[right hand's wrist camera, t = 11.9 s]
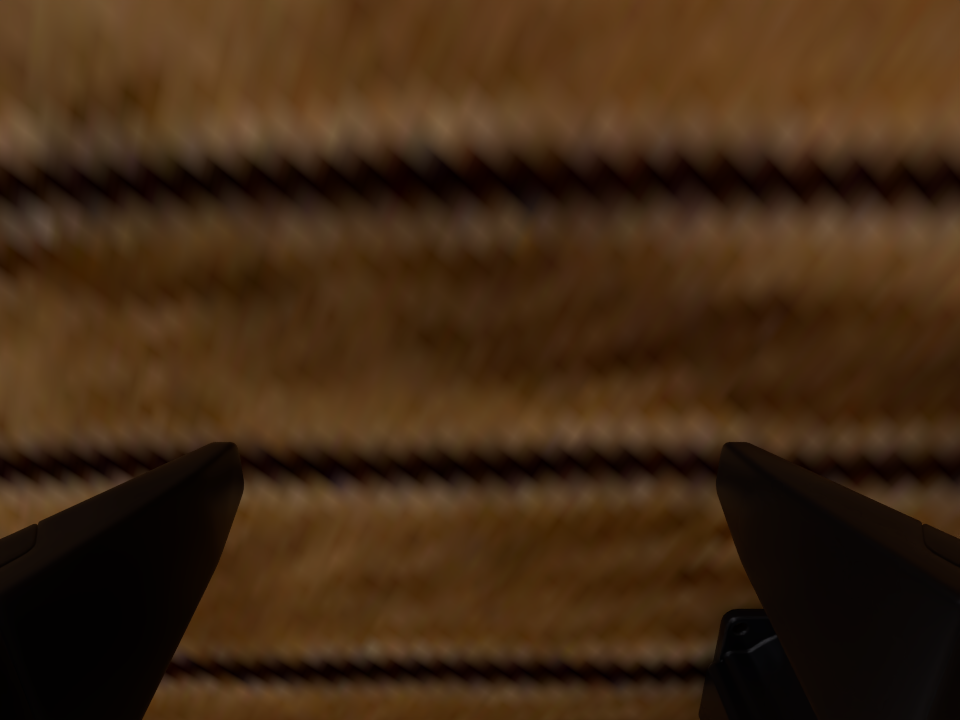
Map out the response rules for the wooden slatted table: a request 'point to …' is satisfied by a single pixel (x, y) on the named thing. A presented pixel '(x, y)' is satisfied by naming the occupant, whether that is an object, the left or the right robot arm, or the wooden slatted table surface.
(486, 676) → the wooden slatted table surface
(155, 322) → the wooden slatted table surface
